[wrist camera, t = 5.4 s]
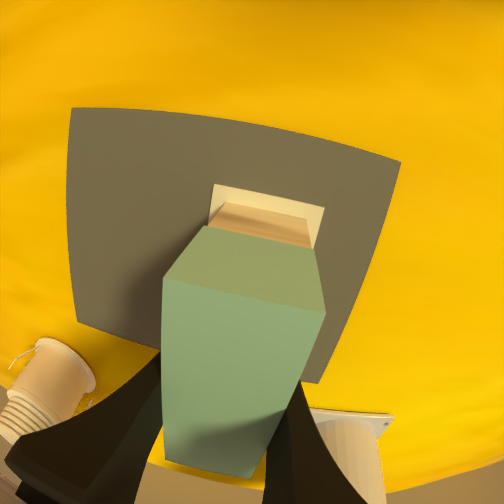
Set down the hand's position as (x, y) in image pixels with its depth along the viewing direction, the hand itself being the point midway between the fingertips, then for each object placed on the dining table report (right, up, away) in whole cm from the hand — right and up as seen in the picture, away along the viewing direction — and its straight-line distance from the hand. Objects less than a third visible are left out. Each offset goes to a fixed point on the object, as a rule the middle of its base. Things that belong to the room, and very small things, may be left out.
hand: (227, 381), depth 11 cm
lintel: (0, +1, +2) cm, 2 cm away
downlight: (-16, -6, +12) cm, 21 cm away
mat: (-2, +5, +6) cm, 8 cm away
